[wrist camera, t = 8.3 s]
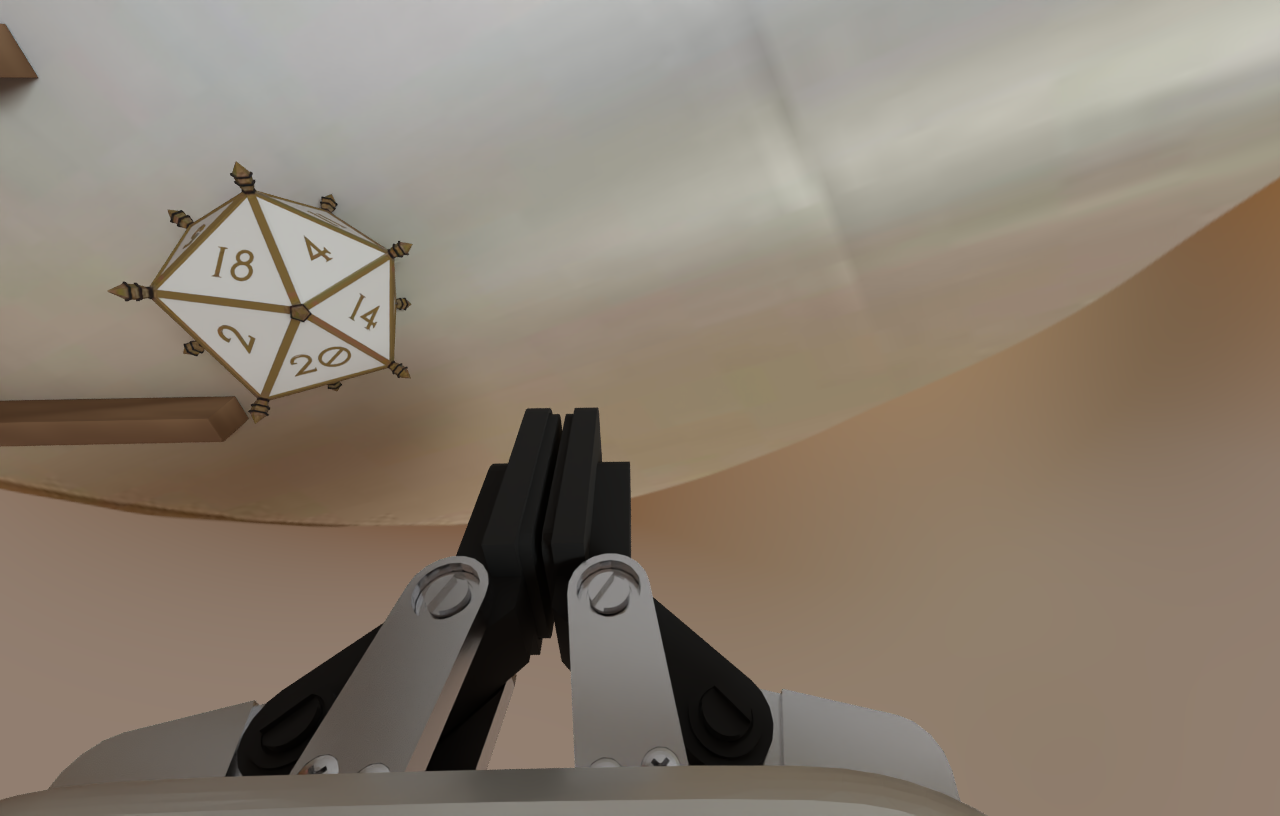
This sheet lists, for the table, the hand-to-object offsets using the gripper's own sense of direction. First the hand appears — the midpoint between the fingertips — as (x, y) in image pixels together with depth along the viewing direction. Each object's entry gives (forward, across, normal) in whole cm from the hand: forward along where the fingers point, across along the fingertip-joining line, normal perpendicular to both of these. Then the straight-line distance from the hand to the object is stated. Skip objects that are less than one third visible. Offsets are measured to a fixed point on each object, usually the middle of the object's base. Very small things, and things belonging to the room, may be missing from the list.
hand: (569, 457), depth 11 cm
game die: (+13, +11, -1) cm, 17 cm away
